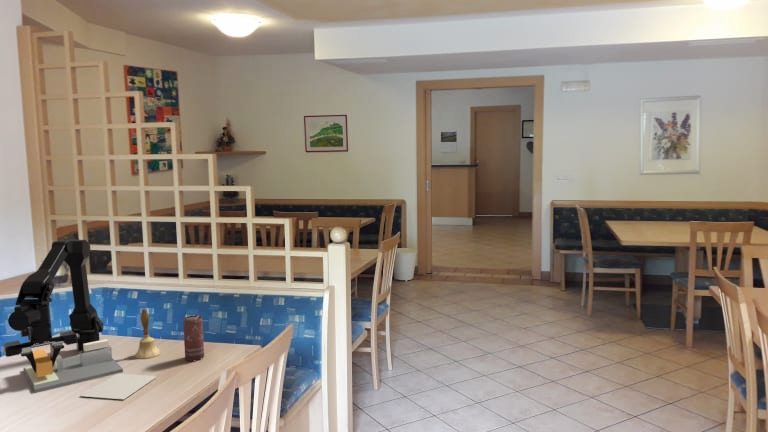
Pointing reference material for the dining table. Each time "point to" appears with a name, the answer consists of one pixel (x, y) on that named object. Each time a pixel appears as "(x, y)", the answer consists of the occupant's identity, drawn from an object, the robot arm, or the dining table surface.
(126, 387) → the paper stack
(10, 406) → the dining table surface
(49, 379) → the pad
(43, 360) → the orange block
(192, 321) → the can
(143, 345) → the hand bell
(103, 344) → the cream bar
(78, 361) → the slate board
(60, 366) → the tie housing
